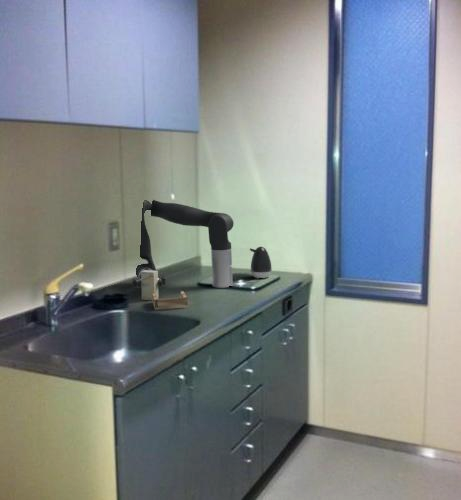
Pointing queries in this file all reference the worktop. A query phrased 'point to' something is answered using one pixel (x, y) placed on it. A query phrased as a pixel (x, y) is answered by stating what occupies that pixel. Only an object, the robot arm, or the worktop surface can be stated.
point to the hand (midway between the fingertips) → (150, 284)
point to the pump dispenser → (260, 263)
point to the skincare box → (149, 284)
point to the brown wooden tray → (170, 302)
